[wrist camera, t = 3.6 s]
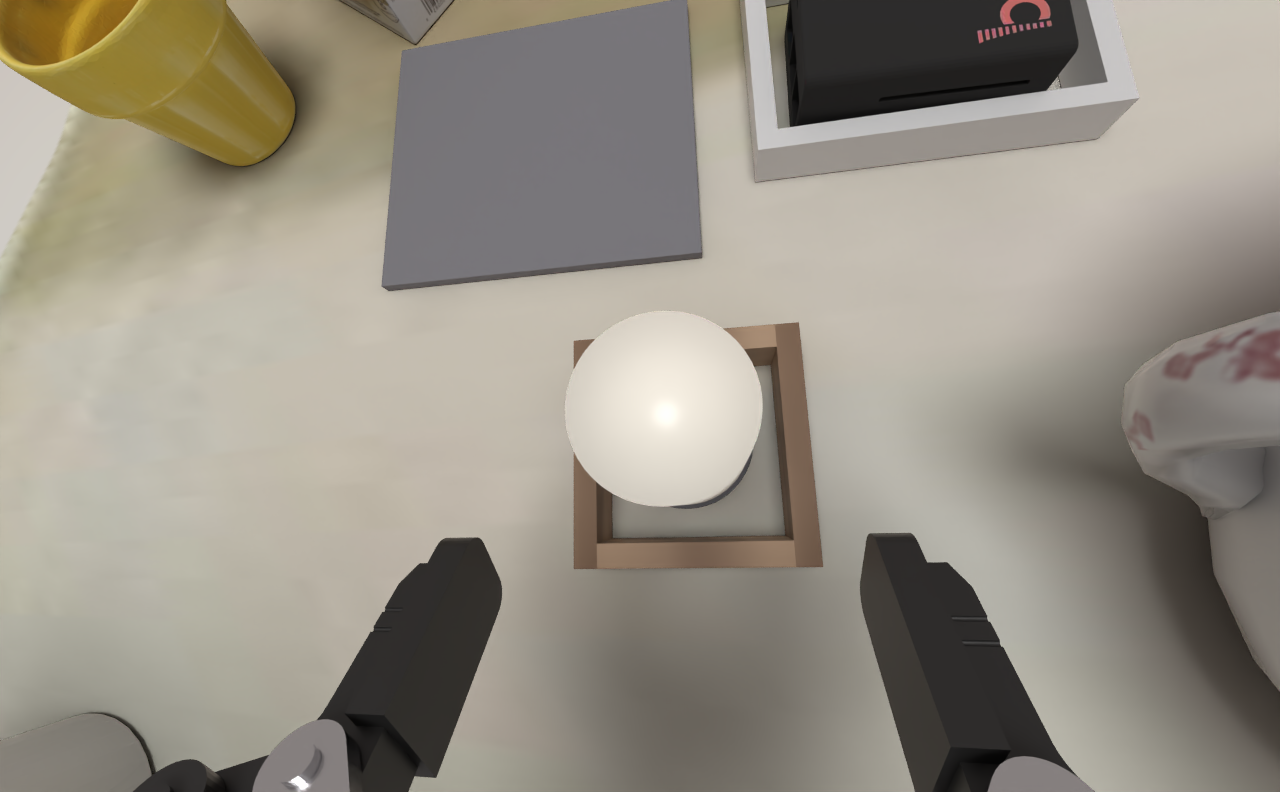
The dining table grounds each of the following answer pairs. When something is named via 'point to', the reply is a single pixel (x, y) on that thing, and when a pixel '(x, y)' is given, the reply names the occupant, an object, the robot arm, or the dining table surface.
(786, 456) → the walnut collar
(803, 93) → the electronic device
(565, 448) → the dining table surface
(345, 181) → the dining table surface
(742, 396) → the white capsule dome
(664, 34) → the charcoal mat
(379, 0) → the coffee box
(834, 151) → the grey organizer frame
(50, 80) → the plant pot
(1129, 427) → the chamber pot
